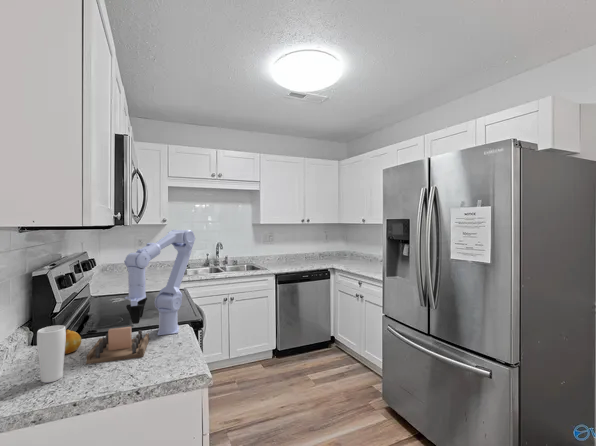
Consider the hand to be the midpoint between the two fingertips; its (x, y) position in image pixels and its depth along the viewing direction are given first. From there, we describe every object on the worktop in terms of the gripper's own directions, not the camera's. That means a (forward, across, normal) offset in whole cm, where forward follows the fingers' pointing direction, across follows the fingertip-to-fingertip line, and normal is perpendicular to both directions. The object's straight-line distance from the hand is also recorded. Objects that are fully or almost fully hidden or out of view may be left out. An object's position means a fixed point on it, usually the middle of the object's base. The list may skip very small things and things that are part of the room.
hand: (137, 320), depth 120 cm
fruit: (+10, -2, -23) cm, 25 cm away
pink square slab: (+8, +4, -5) cm, 10 cm away
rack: (+9, +4, -5) cm, 11 cm away
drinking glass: (+10, +20, -20) cm, 30 cm away
